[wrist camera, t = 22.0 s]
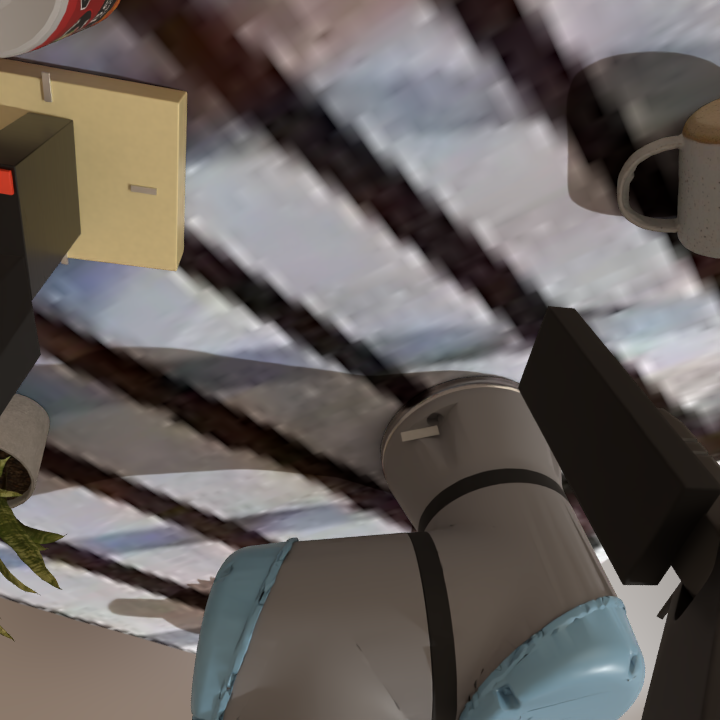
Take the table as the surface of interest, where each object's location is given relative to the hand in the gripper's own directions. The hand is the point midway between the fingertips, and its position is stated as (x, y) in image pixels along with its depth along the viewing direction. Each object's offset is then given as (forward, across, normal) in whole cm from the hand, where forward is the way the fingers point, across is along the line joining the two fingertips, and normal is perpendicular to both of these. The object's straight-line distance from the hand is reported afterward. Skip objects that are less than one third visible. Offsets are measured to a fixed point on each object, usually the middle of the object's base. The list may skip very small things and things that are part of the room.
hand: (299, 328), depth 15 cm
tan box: (+24, -13, -4) cm, 27 cm away
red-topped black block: (+21, -13, -4) cm, 25 cm away
